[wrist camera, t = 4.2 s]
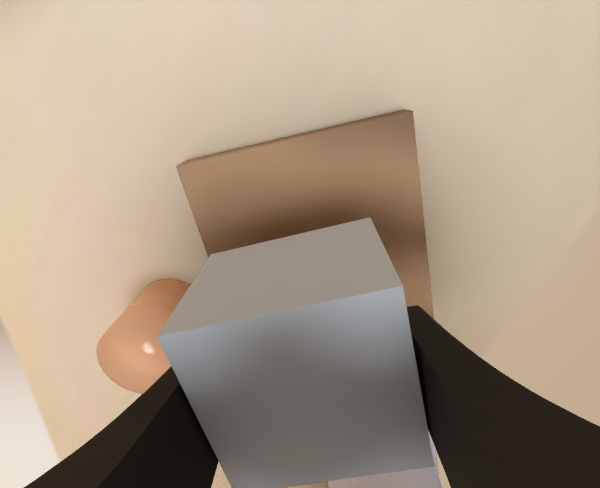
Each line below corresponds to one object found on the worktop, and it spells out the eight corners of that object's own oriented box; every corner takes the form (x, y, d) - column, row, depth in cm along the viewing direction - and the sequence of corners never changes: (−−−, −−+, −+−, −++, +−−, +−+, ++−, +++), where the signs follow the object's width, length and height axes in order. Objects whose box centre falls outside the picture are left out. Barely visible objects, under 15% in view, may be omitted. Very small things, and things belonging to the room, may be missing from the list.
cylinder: (218, 333, 22) (196, 387, 18) (154, 344, 23) (118, 399, 19) (195, 272, 21) (165, 317, 17) (127, 286, 21) (81, 332, 17)
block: (396, 352, 13) (434, 466, 9) (258, 377, 14) (235, 494, 10) (370, 217, 11) (402, 286, 7) (210, 254, 12) (156, 336, 8)
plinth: (425, 304, 21) (433, 320, 19) (246, 333, 22) (241, 350, 21) (404, 109, 17) (412, 111, 15) (187, 160, 18) (175, 166, 17)
